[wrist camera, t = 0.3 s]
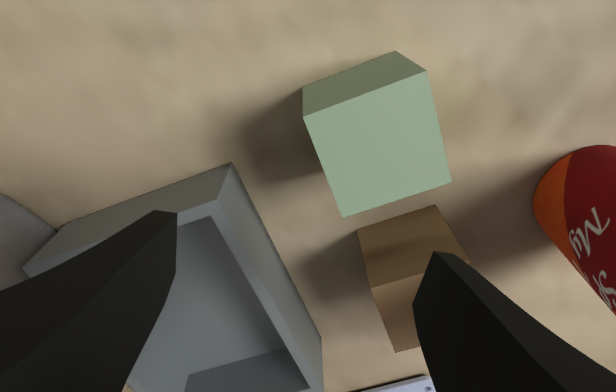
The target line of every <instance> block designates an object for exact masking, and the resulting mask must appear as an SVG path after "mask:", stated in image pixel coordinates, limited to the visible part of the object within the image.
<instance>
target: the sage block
mask: <svg viewBox="0 0 616 392" xmlns="http://www.w3.org/2000/svg"><path fill="white" fill-rule="evenodd" d="M303 119H304V122H305V124H306V127H307V129H308V132H309V134H310V137H311V139H312V142H313V145H314V147H315V150H316V152H317V155H318V157H319V160H320V162H321V165H322V167H323V170H324V172H325V175H326V178H327V180H328V183H329V185H330V188H331V190H332V193H333V195H334V198H335V200H336V203H337V206H338V208H339V211H340V213H341V216H342V218H344V217H347V216H350V215H353V214H356V213H359V212H362V211H365V210H368V209H372V208H375V207H378V206H381V205H384V204H387V203H390V202H393V201H396V200H399V199H402V198H405V197H408V196H411V195H414V194H417V193H420V192H424V191H427V190H430V189H433V188H436V187H439V186H442V185H445V184H448V183H451V182H452V180H451V176H450V172H449V167H448V163H447V158H446V154H445V149H444V145H443V141H442V136H441V132H440V127H439V123H438V118H437V114H436V110H435V105H434V101H433V96H432V92H431V88H430V83H429V79H428V74H427V71H426V70H425V69H423V68H422V67H420V66H419V65H417V64H416V63H414V62H412V61H411V60H409V59H408V58H406V57H405V56H403V55H402V54H400V53H398V52H397V51H394V52H391V53H388V54H386V55H383V56H381V57H378V58H376V59H373V60H370V61H368V62H365V63H363V64H360V65H358V66H355V67H352V68H350V69H347V70H345V71H342V72H339V73H337V74H334V75H332V76H329V77H327V78H324V79H321V80H319V81H316V82H314V83H311V84H309V85H306V86H303Z"/></svg>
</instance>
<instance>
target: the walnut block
mask: <svg viewBox="0 0 616 392" xmlns="http://www.w3.org/2000/svg"><path fill="white" fill-rule="evenodd" d="M357 233H358V238H359V242H360V246H361V251H362V255H363V259H364V264H365V268H366V273H367V277H368V281H369V286H370V289H371V292H372V295H373V297H374V300H375V302H376V305H377V307H378V310H379V312H380V315H381V317H382V320H383V323H384V325H385V328H386V330H387V333H388V335H389V338H390V340H391V343H392V345H393V348H394V350H395V353H397V352H400V351H404V350H408V349H412V348H416V347H419V346H420V343H419V339H418V336H417V331H416V326H415V321H414V315H413V309H412V303H413V301H414V298H415V296H416V293H417V291H418V288H419V286H420V283H421V281H422V278H423V276H424V273H425V271H426V268H427V266H428V263H429V261H430V258H431V256H432V253H433V251H438V252H445V253H452V254H455V255H456V256H458V257H459V258H461V259H462V260H463V261H465V262H466V263H467V264H468V265H470V266H471V264H470V260H469V258H468V256H467V255H466V253H465V252H464V250H463V248H462V247H461V245H460V244H459V242H458V240H457V239H456V237H455V236H454V234H453V232H452V231H451V229H450V228H449V226H448V224H447V223H446V221H445V219H444V218H443V216H442V215H441V213H440V211H439V210H438V208H437V207H436V205H435V204H434V205H431V206H428V207H425V208H422V209H419V210H416V211H413V212H409V213H406V214H403V215H400V216H397V217H394V218H391V219H388V220H384V221H381V222H378V223H375V224H372V225H369V226H366V227H363V228H359V229H357Z"/></svg>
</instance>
